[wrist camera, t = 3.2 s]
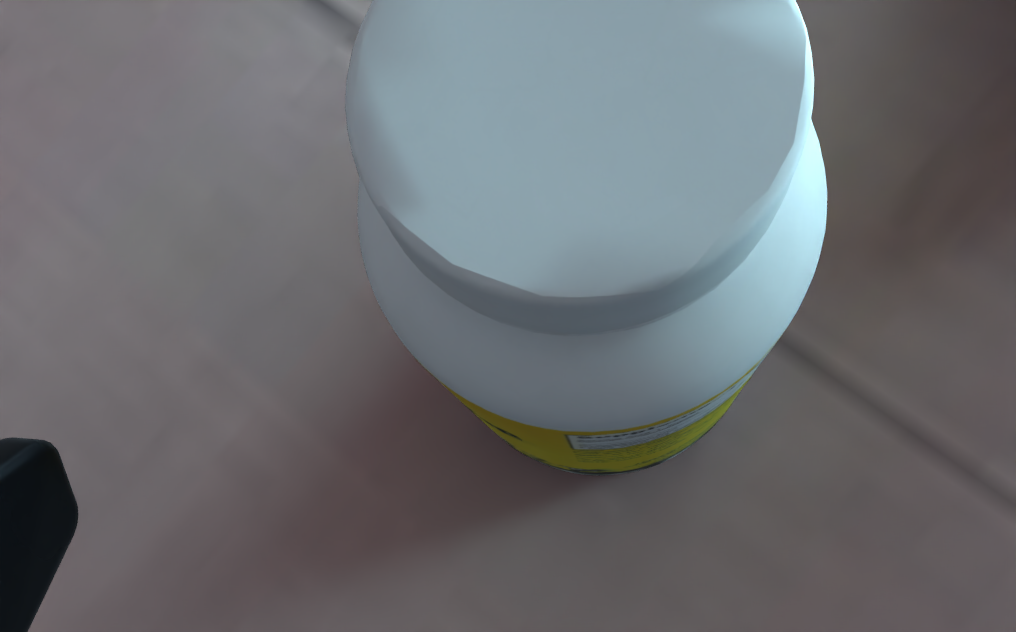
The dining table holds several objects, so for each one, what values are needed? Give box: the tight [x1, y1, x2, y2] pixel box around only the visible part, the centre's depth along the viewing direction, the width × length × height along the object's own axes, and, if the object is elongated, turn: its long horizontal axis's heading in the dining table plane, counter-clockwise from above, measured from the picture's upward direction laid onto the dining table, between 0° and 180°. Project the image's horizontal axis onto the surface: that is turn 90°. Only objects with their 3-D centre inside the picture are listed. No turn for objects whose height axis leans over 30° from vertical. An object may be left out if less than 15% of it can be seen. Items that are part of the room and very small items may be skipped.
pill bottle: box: [345, 0, 827, 475], centre depth 14 cm, size 6×6×11 cm
